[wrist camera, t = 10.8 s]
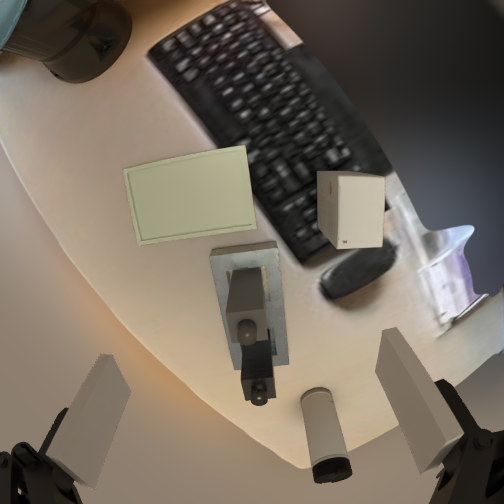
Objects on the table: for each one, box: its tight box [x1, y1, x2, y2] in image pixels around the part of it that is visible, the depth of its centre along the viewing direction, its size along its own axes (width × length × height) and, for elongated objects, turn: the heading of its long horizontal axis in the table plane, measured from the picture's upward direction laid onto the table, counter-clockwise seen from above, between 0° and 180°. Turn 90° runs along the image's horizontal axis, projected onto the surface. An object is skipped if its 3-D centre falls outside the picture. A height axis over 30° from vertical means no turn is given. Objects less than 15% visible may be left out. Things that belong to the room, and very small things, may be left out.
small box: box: [317, 171, 385, 249], centre depth 33 cm, size 8×6×10 cm
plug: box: [225, 267, 268, 346], centre depth 34 cm, size 4×4×14 cm
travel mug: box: [301, 388, 352, 484], centre depth 41 cm, size 6×7×20 cm
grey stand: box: [210, 241, 289, 406], centre depth 36 cm, size 20×9×15 cm, turn 8°
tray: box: [123, 145, 257, 246], centre depth 37 cm, size 11×17×1 cm, turn 98°
